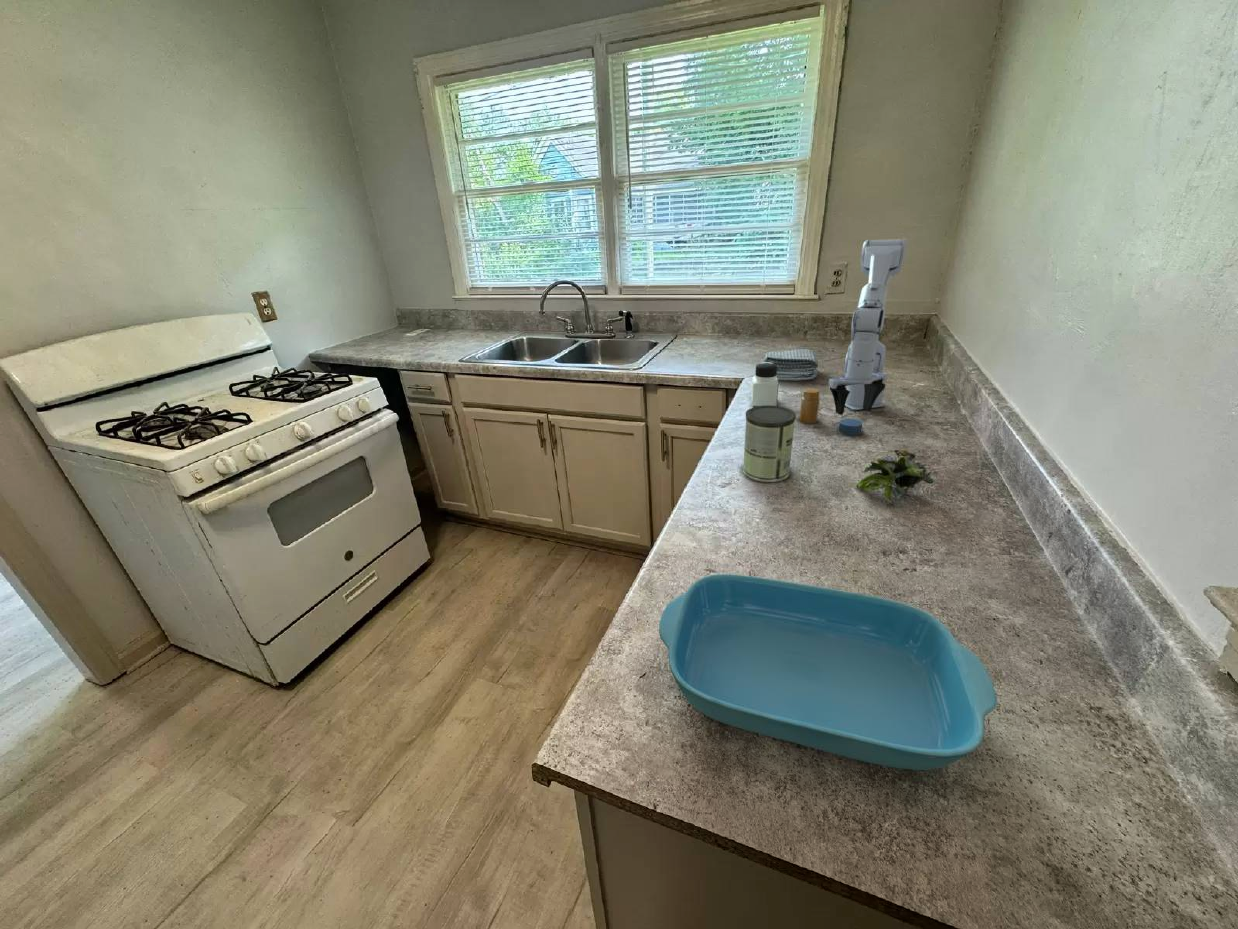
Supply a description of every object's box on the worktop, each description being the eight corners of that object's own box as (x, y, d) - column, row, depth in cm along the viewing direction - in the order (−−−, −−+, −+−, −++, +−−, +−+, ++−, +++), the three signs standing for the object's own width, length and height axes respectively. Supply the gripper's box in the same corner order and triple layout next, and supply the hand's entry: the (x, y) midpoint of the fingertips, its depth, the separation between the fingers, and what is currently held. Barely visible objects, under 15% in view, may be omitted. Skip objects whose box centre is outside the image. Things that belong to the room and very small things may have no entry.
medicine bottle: (776, 406, 146) (780, 367, 141) (751, 406, 148) (754, 367, 142) (774, 398, 153) (778, 360, 147) (751, 398, 154) (753, 360, 149)
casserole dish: (950, 645, 66) (964, 605, 63) (1011, 822, 47) (1035, 778, 44) (679, 598, 77) (678, 562, 74) (640, 727, 58) (637, 685, 55)
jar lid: (834, 429, 130) (835, 420, 129) (851, 426, 131) (853, 417, 130) (847, 436, 125) (848, 427, 124) (865, 433, 126) (867, 424, 125)
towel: (817, 381, 164) (820, 358, 161) (760, 380, 169) (762, 357, 165) (813, 368, 177) (816, 346, 174) (761, 367, 182) (762, 346, 178)
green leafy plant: (892, 510, 104) (940, 471, 98) (895, 529, 95) (948, 487, 89) (849, 474, 106) (894, 434, 100) (848, 490, 97) (897, 446, 91)
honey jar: (806, 415, 139) (810, 386, 135) (820, 420, 135) (824, 390, 131) (795, 420, 137) (798, 390, 133) (809, 424, 133) (813, 394, 129)
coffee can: (744, 459, 117) (748, 403, 111) (790, 463, 114) (796, 406, 108) (739, 480, 109) (743, 420, 102) (788, 485, 106) (795, 424, 99)
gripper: (843, 366, 115) (835, 420, 121) (899, 359, 117) (889, 413, 123) (827, 359, 121) (820, 410, 127) (880, 352, 123) (871, 403, 129)
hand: (852, 411), depth 126 cm, fingers open, 7 cm apart
